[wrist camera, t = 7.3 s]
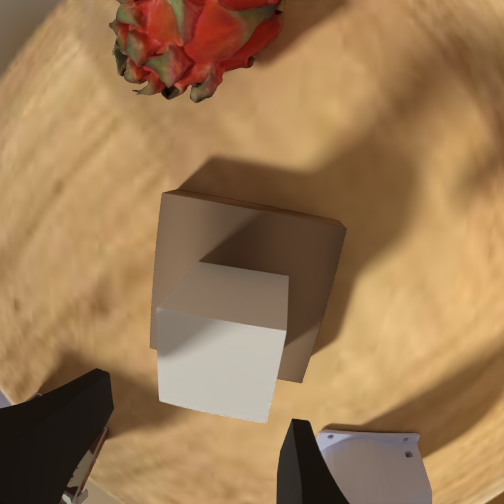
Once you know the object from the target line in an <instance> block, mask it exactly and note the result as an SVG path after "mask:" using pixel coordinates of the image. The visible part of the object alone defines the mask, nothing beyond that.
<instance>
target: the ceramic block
mask: <svg viewBox="0 0 504 504" xmlns="http://www.w3.org/2000/svg"><path fill="white" fill-rule="evenodd" d="M288 285H289V276H286V275H280V274H273V273H267V272H260V271H254V270H248V269H241V268H235V267H229V266H223V265H216V264H210V263H204V262H197V263H196V264H195V265H194V266H193V268H192V269H191V270H190V271H189V272H188V273H187V274H186V275H185V276H184V277H183V278H182V280H181V281H180V282H179V283H178V284H177V285H176V286H175V287H174V288H173V290H172V291H171V292H170V293H169V294H168V295H167V296H166V297H165V298H164V300H163V301H162V302H161V303H160V304H159V305H158V306H157V366H158V388H159V401H161V402H164V403H168V404H172V405H176V406H180V407H184V408H188V409H193V410H197V411H201V412H206V413H211V414H216V415H221V416H226V417H231V418H236V419H242V420H248V421H254V422H261V423H267V419H268V415H269V411H270V406H271V402H272V397H273V393H274V389H275V384H276V380H277V375H278V370H279V366H280V361H281V356H282V351H283V347H284V342H285V337H286V332H287V312H288Z"/></svg>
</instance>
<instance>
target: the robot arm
mask: <svg viewBox="0 0 504 504" xmlns="http://www.w3.org/2000/svg"><path fill="white" fill-rule="evenodd" d="M113 409H114V406H113V399H112V391H111V383H110V373H108V372H106V371H103V370H100V369H98V368H96V369H94V370H92V371H90V372H88V373H86V374H84V375H83V376H81V377H79V378H77V379H75V380H73V381H71V382H69V383H67V384H65V385H63V386H61V387H59V388H58V389H55V390H53V391H51V392H49V393H46V394H44V395H42V396H40V397H37V398H35V399H32V400H29V401H26V402H23V403H20V404H17V405H13V406H9V407H5V408H0V504H59V503H60V500H61V498H62V496H63V494H64V491H65V489H66V487H67V485H68V483H69V481H70V479H71V477H72V475H73V473H74V471H75V469H76V468H77V466H78V464H79V463H80V461H81V460H82V459H83V457H84V456H85V454H86V453H87V451H88V450H89V449H90V447H91V446H92V444H93V443H94V442H95V440H96V439H97V437H98V436H99V434H100V433H101V431H102V430H103V428H104V427H105V425H106V423H107V421H108V419H109V417H110V415H111V413H112V411H113ZM329 435H330V436H329ZM419 439H420V435H419V434H418V433H371V432H352V431H338V430H327V429H325V430H321V431H320V432H319V434H318V436H317V438H316V439H315V436H314V433H313V430H312V427H311V424H310V422H309V421H307V420H300V419H292V421H291V423H290V426H289V429H288V432H287V434H286V437H285V440H284V442H283V445H282V448H281V450H280V456H279V463H278V471H277V504H432V490H431V486H430V483H429V479H428V476H427V473H426V470H425V467H424V464H423V461H422V458H421V455H420V452H419V449H418V446H417V442H418V441H419Z"/></svg>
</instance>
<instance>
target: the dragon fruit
mask: <svg viewBox="0 0 504 504" xmlns="http://www.w3.org/2000/svg"><path fill="white" fill-rule="evenodd" d="M117 1H118V2H119V3H120V4H121V5H120V6H119V8H118V10H117V13H116V19H115V20H114V21H113V22H112V23H110V24H109V27H110V28H112V29H113V31H114V32H115V34H116V35H117V38H116V43H115V45H114V48H113V50H112V52H113V54H112V55H113V56H114V57H115V59H116V63H117V70H118V75H119V76H124V78H125V80H126V81H128V82H130V83H137V84H142V83H144V82H145V81H147V80H148V85H147V86H146V87H144V88H143V89H141V90H139V91H138V90H132V91H135V92H137V93H138V94H144V95H154V94H156V93H160V92H161V94H162V95H163V96H164V97H165V98H166V99H168V100H170V99H172V98H174V97H177V96H179V95H181V94H183V93H184V92H185V91H186V89H187V87H188V86H189V85H194V86H192V88H191V94H190V99H191V100H192V101H193V102H195V103H198V102H200V101H202V100H204V99H206V98H210V97H212V95H213V94H214V92H215V91H216V89H217V87H218V86H219V85H220V84H221V83H222V81H223V79H222V75H223V73H224V72H226V71H230V70H234V69H238V68H250V67H251V66H253V63H254V58H253V54H255V53H256V52H258V51H260V50H262V49H264V48H265V47H267V46H268V45H269V44H270V43H272V42H274V40H275V39H276V38H277V37H278V35H279V33H280V31H281V29H282V26H283V15H284V5H285V0H117ZM126 70H127V71H126ZM125 71H126V72H125ZM124 72H125V74H124ZM136 95H137V94H136Z"/></svg>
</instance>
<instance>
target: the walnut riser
mask: <svg viewBox="0 0 504 504" xmlns="http://www.w3.org/2000/svg"><path fill="white" fill-rule="evenodd" d="M345 233H346V228H345V227H344V226H343V224H342V223H341V222H340V221H337V220H332V219H328V218H323V217H318V216H314V215H309V214H304V213H300V212H295V211H290V210H285V209H280V208H275V207H271V206H265V205H260V204H255V203H250V202H245V201H240V200H234V199H229V198H224V197H218V196H213V195H207V194H201V193H195V192H190V191H184V190H178V189H176V190H172V191H168V192H164V193H162V197H161V205H160V213H159V222H158V231H157V241H156V251H155V263H154V275H153V289H152V306H151V327H150V348H152V349H155V350H157V306H158V305H159V304H160V303H161V302H162V301H163V300H164V298H165V297H166V296H167V295H168V294H169V293H170V292H171V291H172V290H173V288H174V287H175V286H176V285H177V284H178V283H179V282H180V281H181V280H182V278H183V277H184V276H185V275H186V274H187V273H188V272H189V271H190V270H191V269H192V268H193V266H194V265H195V264H196V263H197V262H204V263H210V264H216V265H223V266H229V267H235V268H241V269H248V270H254V271H260V272H267V273H273V274H280V275H286V276H289V285H288V312H287V332H286V337H285V342H284V347H283V351H282V356H281V361H280V366H279V370H278V375H277V379H281V380H286V381H292V382H298V383H302V381H303V378H304V375H305V372H306V369H307V366H308V363H309V360H310V357H311V354H312V350H313V347H314V344H315V341H316V338H317V335H318V331H319V328H320V325H321V321H322V318H323V315H324V311H325V308H326V305H327V301H328V298H329V294H330V291H331V287H332V283H333V280H334V276H335V272H336V269H337V265H338V261H339V257H340V253H341V249H342V245H343V241H344V237H345Z"/></svg>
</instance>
